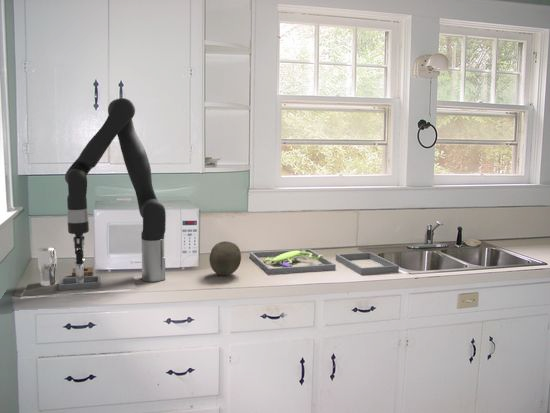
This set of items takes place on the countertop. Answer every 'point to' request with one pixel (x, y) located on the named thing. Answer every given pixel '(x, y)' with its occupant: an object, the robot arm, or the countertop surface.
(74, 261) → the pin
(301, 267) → the grey open box
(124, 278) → the countertop surface
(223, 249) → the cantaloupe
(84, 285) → the tray
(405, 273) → the countertop surface
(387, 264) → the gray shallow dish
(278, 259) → the figurine
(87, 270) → the pin block
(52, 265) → the beer glass
